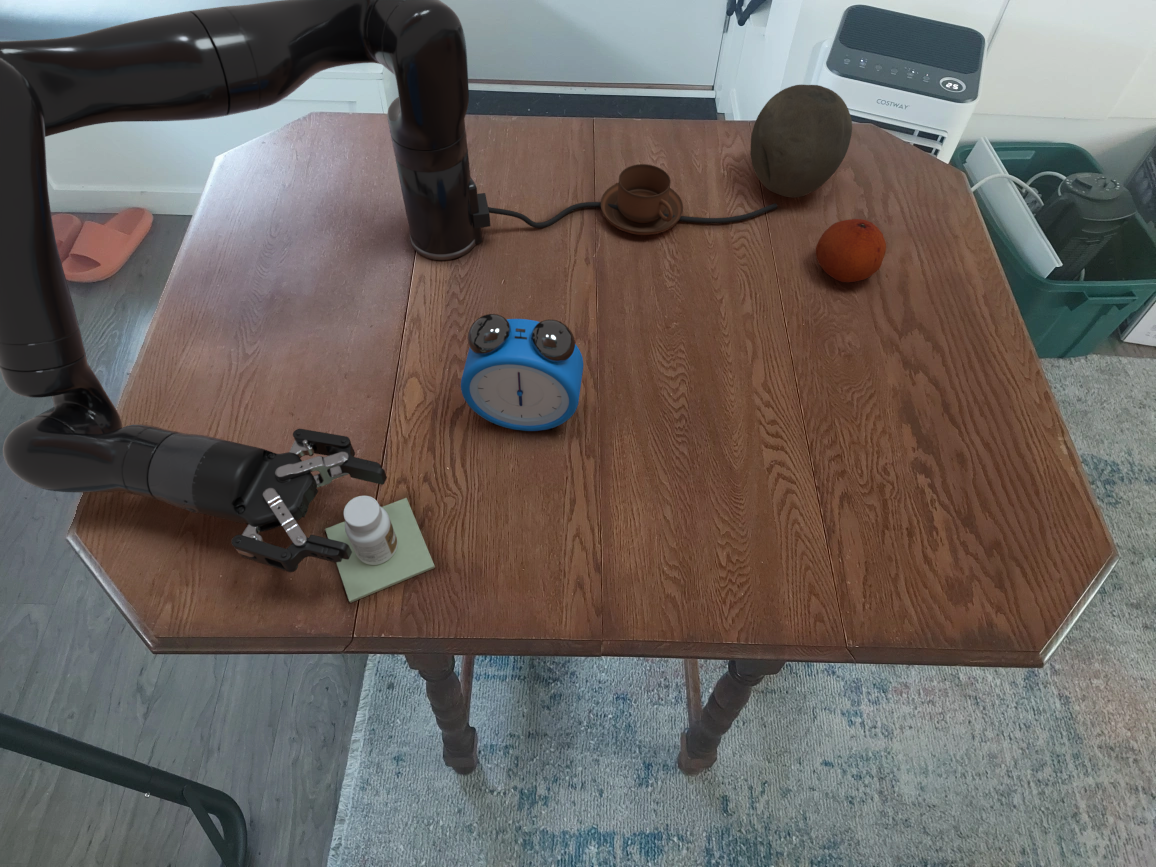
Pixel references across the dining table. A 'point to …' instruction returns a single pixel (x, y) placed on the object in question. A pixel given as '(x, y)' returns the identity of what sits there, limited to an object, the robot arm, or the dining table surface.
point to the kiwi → (800, 139)
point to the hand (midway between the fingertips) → (367, 512)
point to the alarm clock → (522, 372)
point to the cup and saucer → (642, 201)
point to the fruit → (851, 250)
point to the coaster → (398, 568)
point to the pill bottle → (369, 530)
